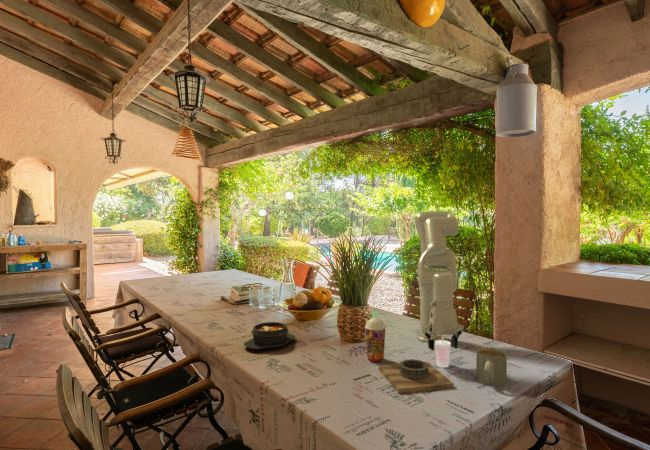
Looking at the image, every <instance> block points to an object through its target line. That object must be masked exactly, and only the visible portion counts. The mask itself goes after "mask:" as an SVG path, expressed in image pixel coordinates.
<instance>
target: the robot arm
mask: <svg viewBox="0 0 650 450" xmlns="http://www.w3.org/2000/svg"><path fill="white" fill-rule="evenodd" d="M414 225H415V229H416V233H417V235H418V238H419V241H420V256H419V258H418V260H417V267H416V268H417V271H416V272H417V280H418V282H417V283H418V287H419V288H418V289H419V298H420V299H419V300H420V301H419V304H420V305H419V310H420V311H419V313H420V314H419V316H420V317H419V319H420V321H419V322H420V323H419V325H420V326H419V328H418V329H419V330H420V331H419V332H418V333H417V334H416V338H417V339H418V340H419V341H421V342H426V343H427V348H429V349H430V350H431V351H434V350H435V341H437V340H442V335H443V340H445V336H451V335H452V336H451V347H452V348H454V349H458V346H459V345H458V344H459V341H458V339H459V338H460V336H461V335H462V334H463V330H464V328H465V326H464V325H463V324H460V323H458V316H457V312H456V308H455V307H454V292H456V290H457V287H458V276H457V275H458V273H457V272H458V271H457V260H456V259H457V256H456V254H455V251H453V250H452V249H449V248H447V240H446V237H447V236H448V237H449V236H450V237H455V236H457V235H458V233H459V222H458V220H457V217H456V216H455V215H454V214H453V212H450V211H422V212H418V213H417V214H416V215H415V216H414Z"/></svg>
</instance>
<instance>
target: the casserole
mask: <svg viewBox="0 0 650 450" xmlns="http://www.w3.org/2000/svg"><path fill="white" fill-rule="evenodd" d="M250 334H251V335H252V338H250V339H249V340H247V341H245V342H244V343H243V346H244V347H246V348H248V349H252V350H263V349H275V348H279V347H283V346H286V345H288V344H289V343H290V342H291V341H293V340H295V339H296V336H295V335H294V334H292V333H290V332H289V329H288V327H287V324H285V323H283V322H277V321H275V322H273V321H269V322H262V323H258V324H256V325H254V326H253V328H252V329H251V332H250Z"/></svg>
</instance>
